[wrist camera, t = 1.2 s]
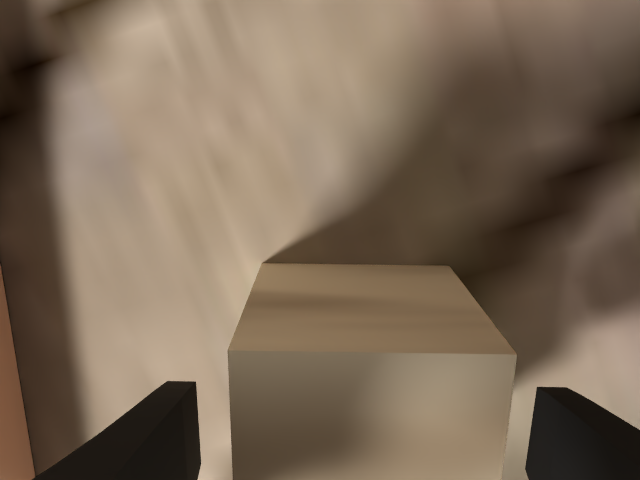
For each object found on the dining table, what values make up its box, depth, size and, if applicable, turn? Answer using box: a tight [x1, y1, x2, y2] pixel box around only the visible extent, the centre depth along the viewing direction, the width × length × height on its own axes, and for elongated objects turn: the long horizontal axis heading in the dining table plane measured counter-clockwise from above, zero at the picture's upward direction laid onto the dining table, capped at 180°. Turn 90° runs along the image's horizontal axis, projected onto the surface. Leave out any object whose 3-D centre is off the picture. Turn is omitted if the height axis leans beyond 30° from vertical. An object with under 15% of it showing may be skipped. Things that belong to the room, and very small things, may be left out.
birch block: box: [228, 263, 517, 480], centre depth 12 cm, size 5×5×5 cm
